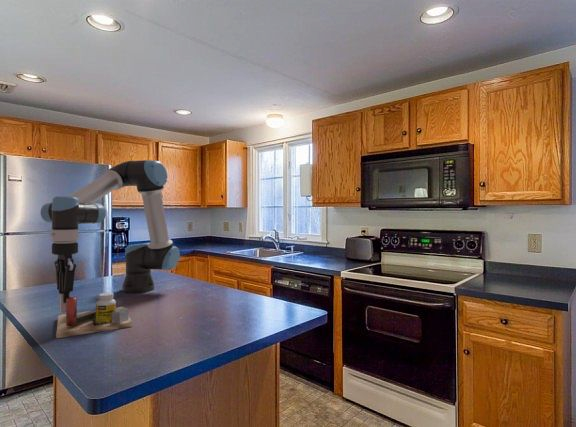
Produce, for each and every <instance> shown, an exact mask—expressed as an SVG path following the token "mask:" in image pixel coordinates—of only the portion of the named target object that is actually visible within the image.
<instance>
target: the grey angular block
mask: <svg viewBox="0 0 576 427" xmlns="http://www.w3.org/2000/svg"><path fill="white" fill-rule="evenodd" d="M129 312H130V311H129V307H124V308H119V309H117V310H115V311H113V312H112V324H119V329H122V328H121V323H123V322H125V321H126V320H128V319H129V317H130V316H129V314H130V313H129Z"/></svg>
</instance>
